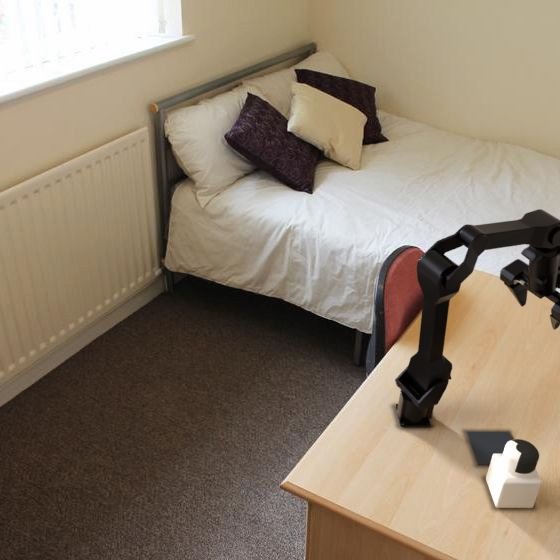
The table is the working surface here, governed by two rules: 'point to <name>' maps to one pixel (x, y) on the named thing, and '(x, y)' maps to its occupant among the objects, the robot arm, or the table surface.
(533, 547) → the table surface
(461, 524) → the table surface
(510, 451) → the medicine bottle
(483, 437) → the felt pad
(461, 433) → the table surface
